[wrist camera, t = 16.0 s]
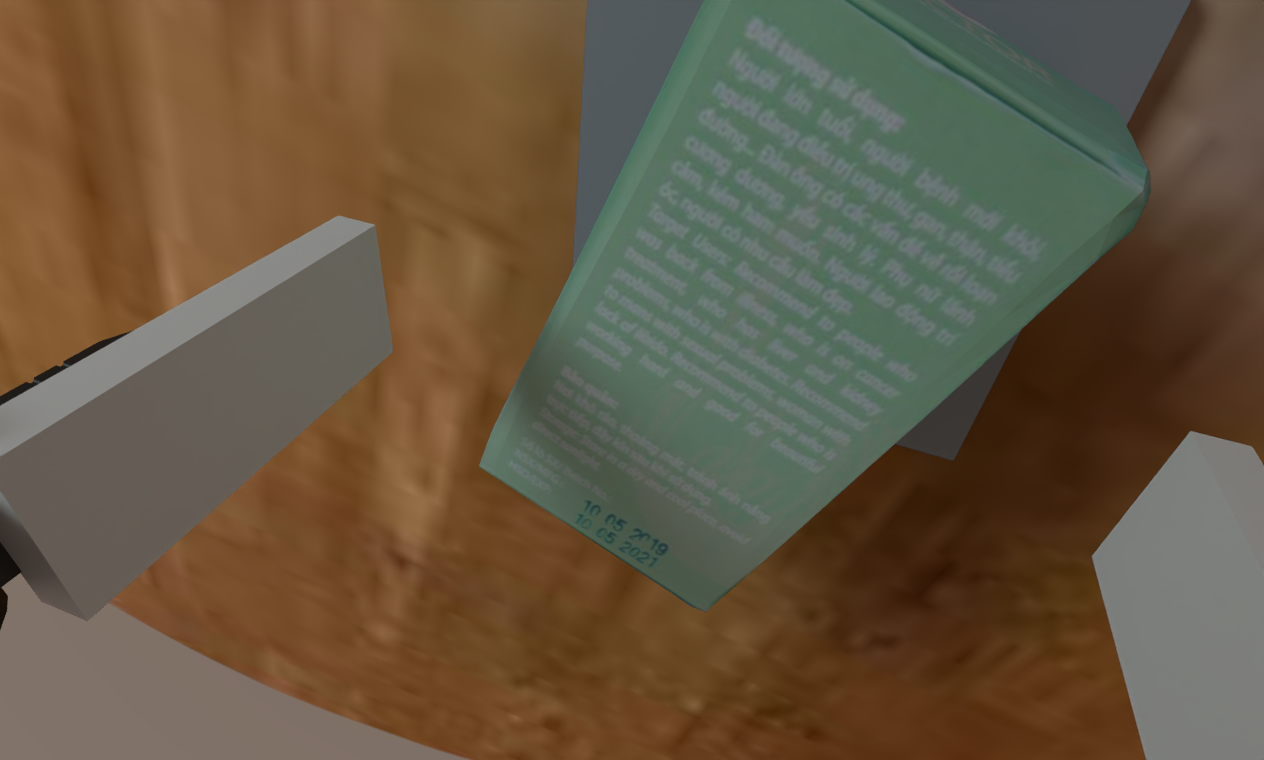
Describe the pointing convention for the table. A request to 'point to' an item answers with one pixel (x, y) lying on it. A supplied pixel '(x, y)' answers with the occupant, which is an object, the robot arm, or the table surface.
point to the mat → (1004, 3)
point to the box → (803, 273)
